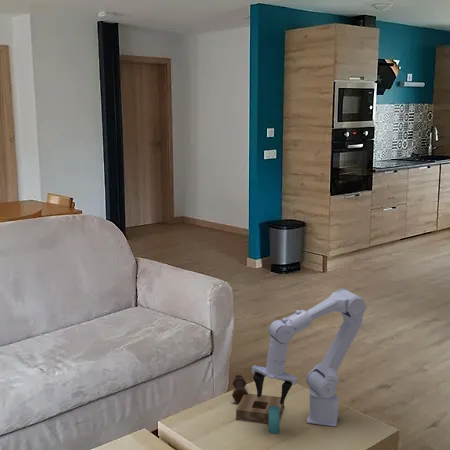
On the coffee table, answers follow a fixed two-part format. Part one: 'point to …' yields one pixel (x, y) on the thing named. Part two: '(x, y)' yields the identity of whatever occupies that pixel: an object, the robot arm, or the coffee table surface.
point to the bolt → (239, 388)
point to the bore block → (257, 408)
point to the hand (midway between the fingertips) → (270, 399)
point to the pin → (273, 419)
